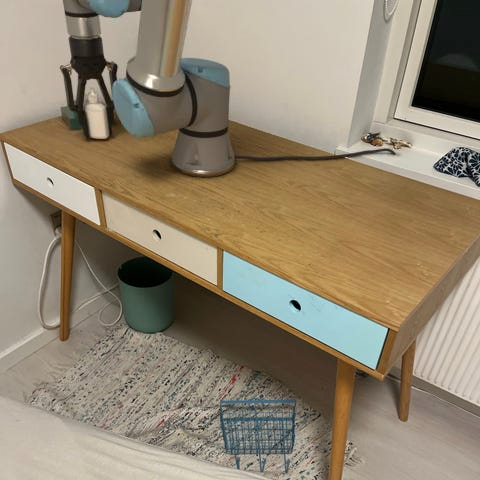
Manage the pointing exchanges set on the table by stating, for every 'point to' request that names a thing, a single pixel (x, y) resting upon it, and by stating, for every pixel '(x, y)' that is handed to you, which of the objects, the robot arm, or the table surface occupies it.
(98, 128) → the eye dropper bottle
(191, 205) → the table surface
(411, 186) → the table surface
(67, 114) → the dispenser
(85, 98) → the pale grey short cylinder
